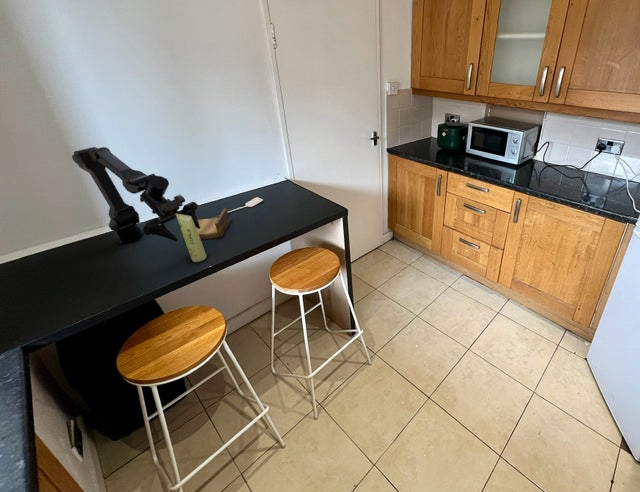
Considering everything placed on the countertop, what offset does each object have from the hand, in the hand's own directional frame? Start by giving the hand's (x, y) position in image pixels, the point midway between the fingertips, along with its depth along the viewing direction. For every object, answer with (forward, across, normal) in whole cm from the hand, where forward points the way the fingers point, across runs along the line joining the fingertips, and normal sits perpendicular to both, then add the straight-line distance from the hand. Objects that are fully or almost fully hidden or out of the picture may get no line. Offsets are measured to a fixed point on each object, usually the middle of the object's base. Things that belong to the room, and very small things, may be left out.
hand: (188, 234), depth 117 cm
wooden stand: (-2, +17, +17) cm, 24 cm away
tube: (+9, 0, +7) cm, 11 cm away
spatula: (-5, +35, +20) cm, 41 cm away
